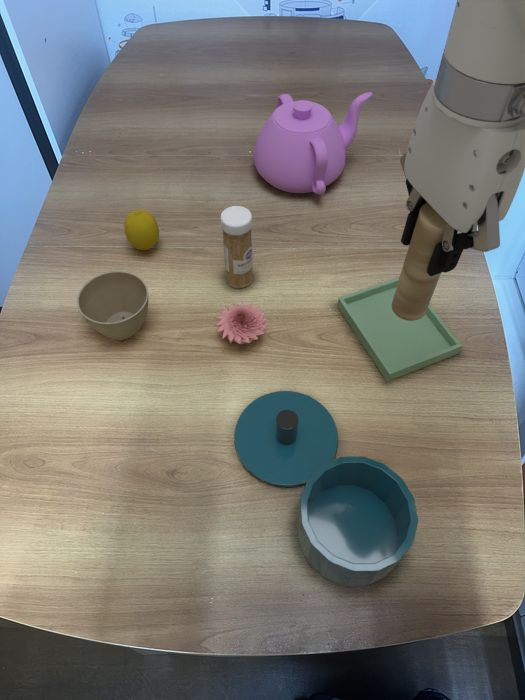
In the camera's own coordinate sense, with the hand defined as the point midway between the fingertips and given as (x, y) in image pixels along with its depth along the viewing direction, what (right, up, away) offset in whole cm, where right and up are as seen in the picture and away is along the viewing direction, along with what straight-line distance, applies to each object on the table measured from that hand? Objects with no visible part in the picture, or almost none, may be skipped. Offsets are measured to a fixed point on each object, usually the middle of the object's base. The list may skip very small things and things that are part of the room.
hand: (427, 253), depth 56 cm
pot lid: (-14, -21, +15) cm, 30 cm away
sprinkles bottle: (-21, +2, +33) cm, 39 cm away
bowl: (-38, -6, +27) cm, 47 cm away
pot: (-7, -32, +9) cm, 34 cm away
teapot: (-8, +25, +49) cm, 55 cm away
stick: (0, -5, +7) cm, 9 cm away
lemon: (-37, +7, +37) cm, 53 cm away
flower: (-20, -8, +26) cm, 34 cm away
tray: (+3, -7, +26) cm, 27 cm away
